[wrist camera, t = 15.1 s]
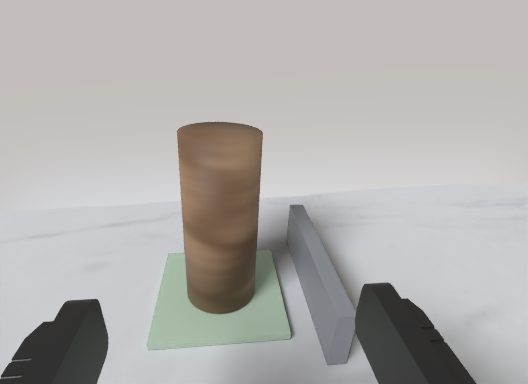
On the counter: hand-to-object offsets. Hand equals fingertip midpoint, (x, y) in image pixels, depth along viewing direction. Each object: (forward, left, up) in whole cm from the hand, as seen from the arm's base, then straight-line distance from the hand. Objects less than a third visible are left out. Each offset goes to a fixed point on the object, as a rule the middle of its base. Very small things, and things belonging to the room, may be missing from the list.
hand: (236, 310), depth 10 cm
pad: (+1, -11, -10) cm, 15 cm away
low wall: (-6, -11, -10) cm, 16 cm away
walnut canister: (+1, -11, -10) cm, 15 cm away
